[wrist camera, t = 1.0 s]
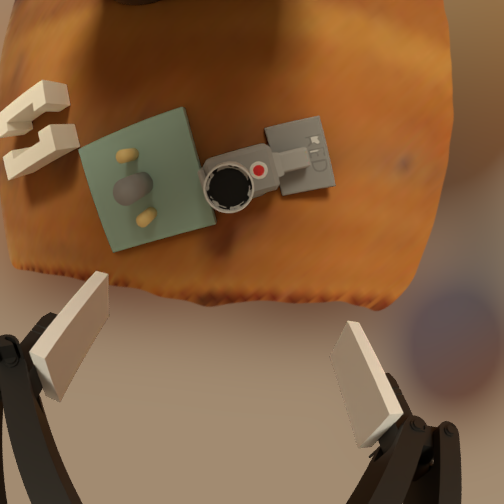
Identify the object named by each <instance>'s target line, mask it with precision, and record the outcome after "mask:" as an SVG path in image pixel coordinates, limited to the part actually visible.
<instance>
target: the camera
mask: <svg viewBox="0 0 504 504" xmlns="http://www.w3.org/2000/svg"><path fill="white" fill-rule="evenodd" d="M264 130H265V134H266V137H267V141H268V144H269V146H267V145H266V144H263V143H261V144H257V145H253V146H249V147H246V148H242V149H238V150H235V151H231V152H228V153H224V154H221V155H218V156H214V157H211V158H209V159H207V160H206V161H205V163H204V165H203V167H202V168H201V169H200V170H198V172H197V174H198V177H199V180H200V183H201V186H202V189H203V193H204V196H205V199H206V201H207V202H208V203H209V205H210V206H211V207H213V208H214V209H215V210H217V211H220V212H223V213H235V212H238V211H240V210H242V209H244V208H245V207H246V206H247V205H248V204H249V203H250V201H251V200H252V198H255V197H259V196H262V195H264V194H265V193H266V192H269V191H273V190H277V188H278V186H280V189H281V193H282V196H285V195H290V194H295V193H300V192H306V191H311V190H316V189H322V188H327V187H333V186H336V185H335V180H334V175H333V170H332V166H331V161H330V157H329V153H328V148H327V144H326V140H325V136H324V132H323V128H322V124H321V120H320V116H315V117H310V118H305V119H301V120H296V121H292V122H287V123H283V124H279V125H274V126H270V127H266V128H264Z"/></svg>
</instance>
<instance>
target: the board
mask: <svg viewBox="0 0 504 504" xmlns="http://www.w3.org/2000/svg"><path fill="white" fill-rule="evenodd" d="M78 150H79V154H80V158H81V161H82V165H83V168H84V172H85V175H86V178H87V181H88V185H89V188H90V191H91V194H92V197H93V200H94V203H95V206H96V209H97V212H98V215H99V217H100V220H101V223H102V226H103V228H104V231H105V234H106V236H107V239H108V241H109V244H110V246H111V249H112V251H113V253H114V252H117V251H120V250H124V249H127V248H131V247H134V246H138V245H141V244H145V243H148V242H152V241H155V240H159V239H162V238H166V237H170V236H173V235H177V234H181V233H184V232H188V231H192V230H196V229H199V228H203V227H207V226H211V225H215V224H216V222H217V220H216V216H215V213H214V210H213V207H211V206H210V205H209V203H208V202H207V201H206V199H205V196H204V193H203V189H202V186H201V183H200V180H199V177H198V174H197V172H198V170H200V169H201V164H200V161H199V157H198V154H197V150H196V147H195V143H194V139H193V136H192V132H191V128H190V125H189V121H188V117H187V114H186V110H185V108H184V107H180V108H177V109H174V110H171V111H168V112H165V113H162V114H159V115H157V116H154V117H151V118H148V119H146V120H143V121H141V122H138V123H136V124H133V125H131V126H128V127H126V128H123V129H121V130H119V131H116V132H114V133H112V134H110V135H107V136H105V137H103V138H101V139H99V140H97V141H94V142H92V143H90V144H88V145H86V146H84V147H82V148H80V149H78Z"/></svg>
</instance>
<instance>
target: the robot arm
mask: <svg viewBox="0 0 504 504" xmlns="http://www.w3.org/2000/svg"><path fill="white" fill-rule="evenodd" d="M114 1H116V2H119V3H122V4H127V5H142V4H148V3H153V2H157V1H160V0H114ZM108 287H109V286H108V274H106V273H102V272H98V271H95V272H94V274H93V275H92V276H91V277H90V278H89V279H88V280H87V281H86V282H85V284H84V285H83V286H82V287H81V288H80V289H79V290H78V292H77V293H76V294H75V295H74V296H73V297H72V299H71V300H70V301H69V302H68V303H67V304H66V306H65V307H64V308H63V309H62V311H61V312H60V313H59V314H58V315H57V314H54V313H51V312H50V313H48V314H47V315H45V316H43V317H42V318H41V319H40V320H39V321H38V322H37V324H36V325H35V326H34V327H33V329H32V331H30V332H29V334H28V335H27V336H26V337H25V338H24V340H23V341H22V342H21V343H20V344H19V341H18V339H17V338H16V337H15V336H12V335H2V336H0V504H7V499H6V492H5V483H4V472H3V458H2V457H3V456H2V419H3V408H4V413H5V418H6V423H7V428H8V432H9V437H10V441H11V445H12V448H13V452H14V455H15V459H16V462H17V465H18V469H19V472H20V475H21V477H22V480H23V483H24V486H25V489H26V491H27V494H28V496H29V499H30V501H31V504H82V502H81V500H80V498H79V496H78V494H77V492H76V490H75V488H74V486H73V484H72V482H71V480H70V478H69V475H68V473H67V471H66V469H65V467H64V464H63V462H62V459H61V457H60V455H59V452H58V450H57V447H56V444H55V442H54V439H53V436H52V433H51V430H50V427H49V424H48V421H47V418H46V415H45V412H44V408H43V405H42V401H41V397H40V396H39V394H40V392H41V390H42V388H43V390H44V392H45V395H46V396H47V397H49V398H51V399H54V400H56V401H58V402H61V400H62V398H63V396H64V394H65V392H66V390H67V388H68V386H69V384H70V383H71V381H72V379H73V377H74V375H75V373H76V372H77V370H78V368H79V366H80V364H81V363H82V361H83V359H84V357H85V356H86V354H87V352H88V350H89V349H90V347H91V345H92V344H93V342H94V340H95V339H96V337H97V335H98V334H99V332H100V330H101V329H102V327H103V325H104V324H105V322H106V320H107V319H108V317H109V290H108V289H109V288H108ZM330 360H331V363H332V366H333V369H334V372H335V375H336V378H337V381H338V384H339V387H340V391H341V394H342V397H343V400H344V403H345V406H346V410H347V412H348V416H349V419H350V422H351V426H352V429H353V433H354V436H355V439H356V443H357V446H358V448H365V447H372V446H373V445H374V444H375V443H376V442H377V441H379V444H380V446H379V447H378V448H377V449H376V450H375V451H374V452H373V453H372V454H371V455H370V456H369V458H371V457H372V456H373V455H374V456H373V458H372V460H371V461H370V463H369V465H368V467H367V469H366V471H365V473H364V475H363V476H362V478H361V480H360V481H359V483H358V485H357V487H356V488H355V490H354V492H353V493H352V495H351V497H350V498H349V500H348V501H347V503H346V504H402V503H403V504H461V457H460V456H461V454H460V441H459V433H458V429H457V428H456V426H455V425H454V424H453V423H451V422H448V421H445V422H442V423H441V424H440V425H439V426H438V427H432V426H427V425H426V423H425V422H424V420H423V419H421V418H420V417H417V416H413V415H412V413H411V410H410V408H409V406H408V404H407V402H406V400H405V398H404V396H403V395H402V392H401V390H400V389H399V386H398V384H397V382H396V380H395V379H394V378H393V377H392V376H391V375H390V374H389V373H384V371H383V369H382V367H381V365H380V363H379V361H378V359H377V357H376V355H375V353H374V351H373V349H372V347H371V345H370V343H369V341H368V339H367V337H366V335H365V333H364V331H363V329H362V327H361V325H360V324H359V322H352V321H347V323H346V325H345V327H344V329H343V331H342V333H341V335H340V337H339V339H338V341H337V343H336V345H335V347H334V349H333V351H332V353H331V354H330ZM433 460H434V462H433Z"/></svg>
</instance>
